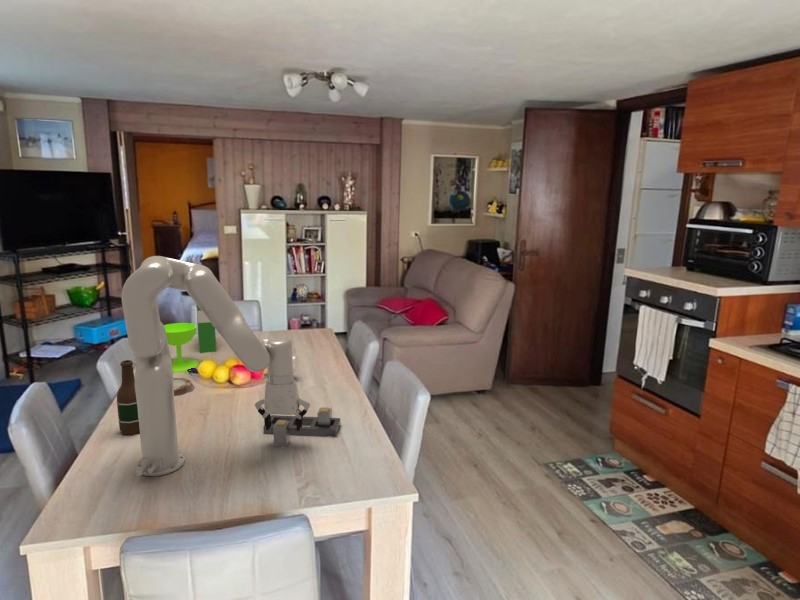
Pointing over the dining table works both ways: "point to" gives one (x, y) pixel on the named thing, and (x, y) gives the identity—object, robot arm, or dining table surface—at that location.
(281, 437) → the brushed metal block
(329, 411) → the grey tan rectangular block
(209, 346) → the hardback book
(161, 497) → the dining table surface
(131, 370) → the beer bottle
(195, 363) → the green goblet
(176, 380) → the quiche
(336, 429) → the rail
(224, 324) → the robot arm
